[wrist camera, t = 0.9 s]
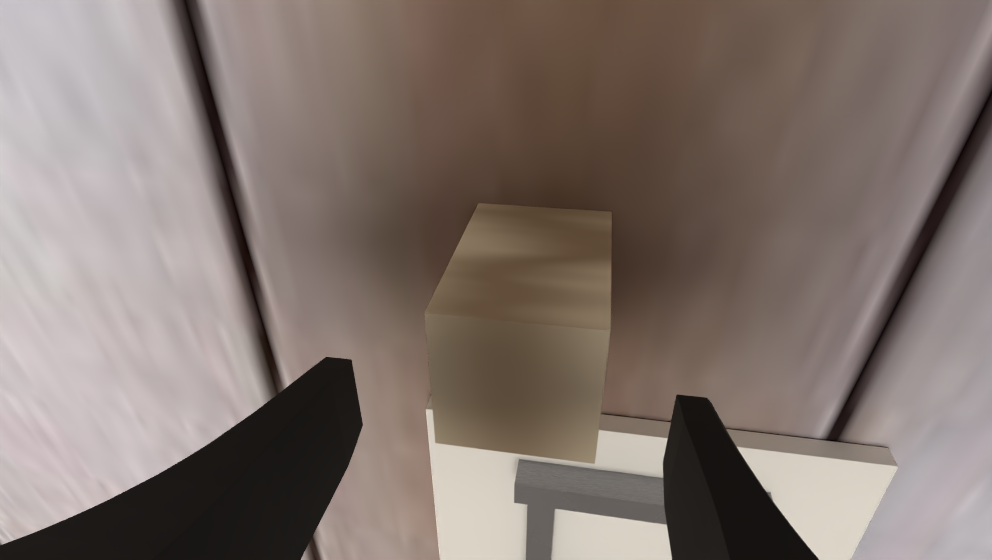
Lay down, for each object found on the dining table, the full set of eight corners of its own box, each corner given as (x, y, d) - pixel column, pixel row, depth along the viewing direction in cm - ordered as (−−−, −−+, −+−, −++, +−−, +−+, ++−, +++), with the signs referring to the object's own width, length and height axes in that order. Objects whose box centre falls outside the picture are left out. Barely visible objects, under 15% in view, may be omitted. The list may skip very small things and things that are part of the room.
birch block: (612, 211, 17) (610, 331, 12) (600, 322, 19) (594, 464, 14) (478, 202, 18) (424, 313, 13) (481, 311, 20) (435, 443, 15)
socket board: (888, 447, 20) (914, 496, 18) (795, 637, 26) (808, 686, 24) (431, 394, 22) (416, 432, 20) (447, 579, 28) (436, 620, 27)
